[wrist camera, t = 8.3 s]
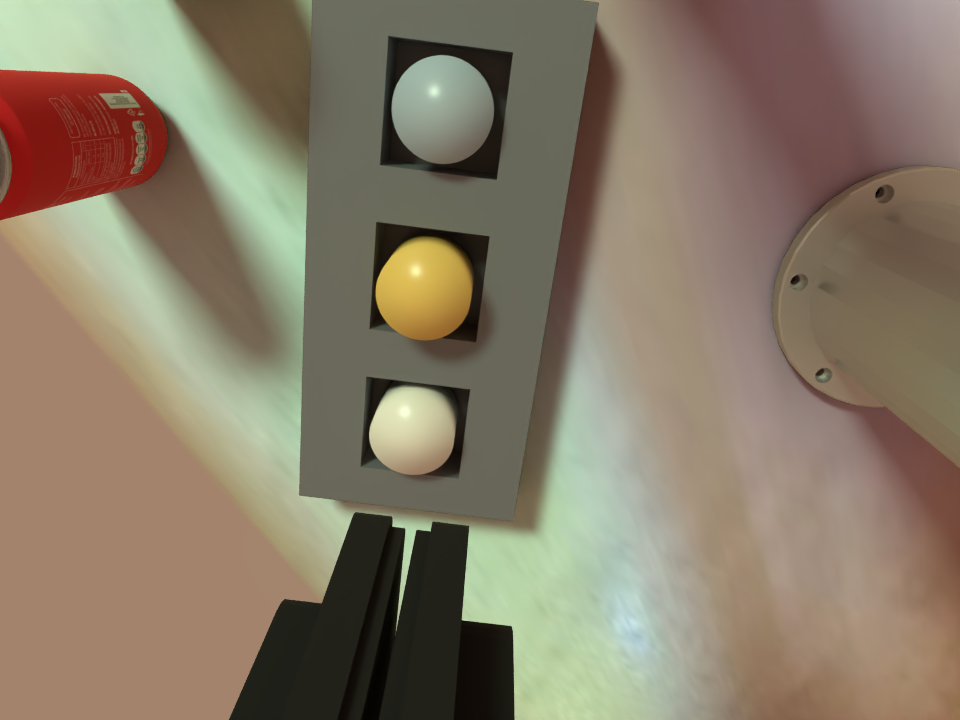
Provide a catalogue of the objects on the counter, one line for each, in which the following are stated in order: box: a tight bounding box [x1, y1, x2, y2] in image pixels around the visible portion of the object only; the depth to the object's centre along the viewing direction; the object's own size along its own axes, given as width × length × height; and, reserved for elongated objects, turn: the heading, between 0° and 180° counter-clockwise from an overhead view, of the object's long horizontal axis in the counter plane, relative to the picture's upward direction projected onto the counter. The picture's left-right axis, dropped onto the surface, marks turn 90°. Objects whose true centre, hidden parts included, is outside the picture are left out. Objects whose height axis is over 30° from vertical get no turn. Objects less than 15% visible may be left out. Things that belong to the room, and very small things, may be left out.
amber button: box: [376, 233, 474, 340], centre depth 33 cm, size 4×4×3 cm
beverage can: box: [0, 70, 168, 220], centre depth 28 cm, size 5×5×12 cm
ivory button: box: [369, 380, 458, 475], centre depth 37 cm, size 4×4×3 cm
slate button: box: [392, 55, 495, 164], centre depth 31 cm, size 4×4×3 cm
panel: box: [299, 0, 599, 521], centre depth 35 cm, size 12×26×3 cm, turn 173°
